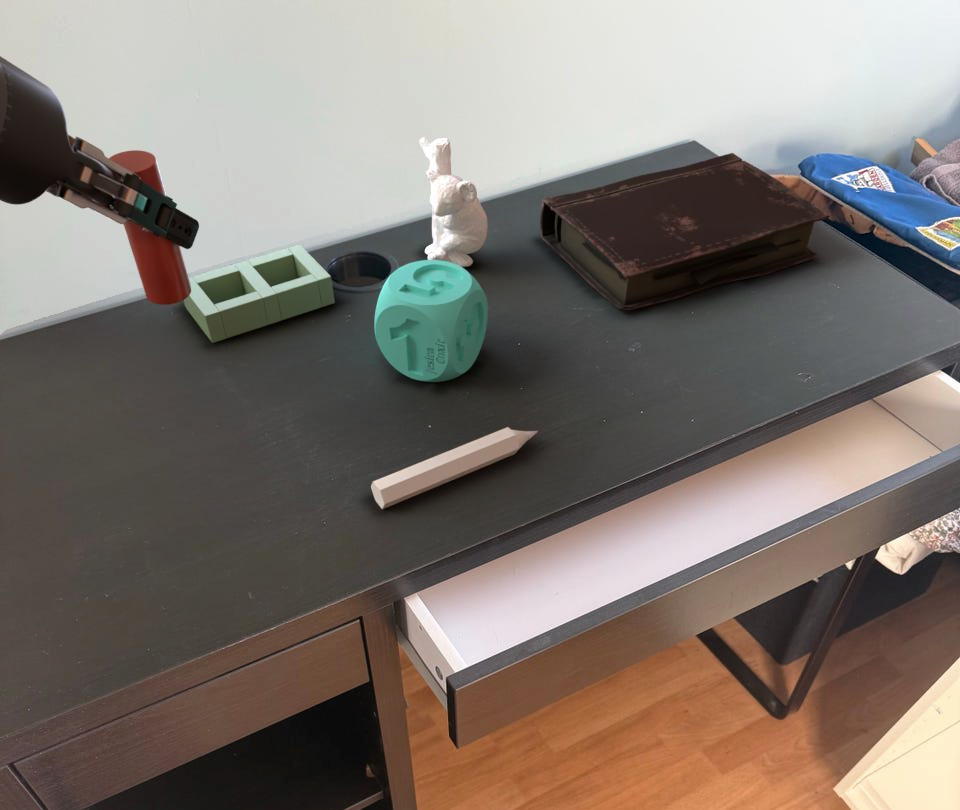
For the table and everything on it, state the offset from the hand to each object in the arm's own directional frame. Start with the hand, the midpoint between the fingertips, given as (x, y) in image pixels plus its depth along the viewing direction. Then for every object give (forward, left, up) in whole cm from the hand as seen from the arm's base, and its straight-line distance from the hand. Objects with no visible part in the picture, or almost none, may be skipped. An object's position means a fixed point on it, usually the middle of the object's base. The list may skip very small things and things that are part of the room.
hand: (172, 226), depth 68 cm
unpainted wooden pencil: (+23, +2, -18) cm, 29 cm away
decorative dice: (+14, +16, -18) cm, 27 cm away
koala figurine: (+8, +33, -18) cm, 38 cm away
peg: (0, -2, -5) cm, 5 cm away
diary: (+30, +45, -18) cm, 56 cm away
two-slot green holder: (-7, +17, -18) cm, 25 cm away
